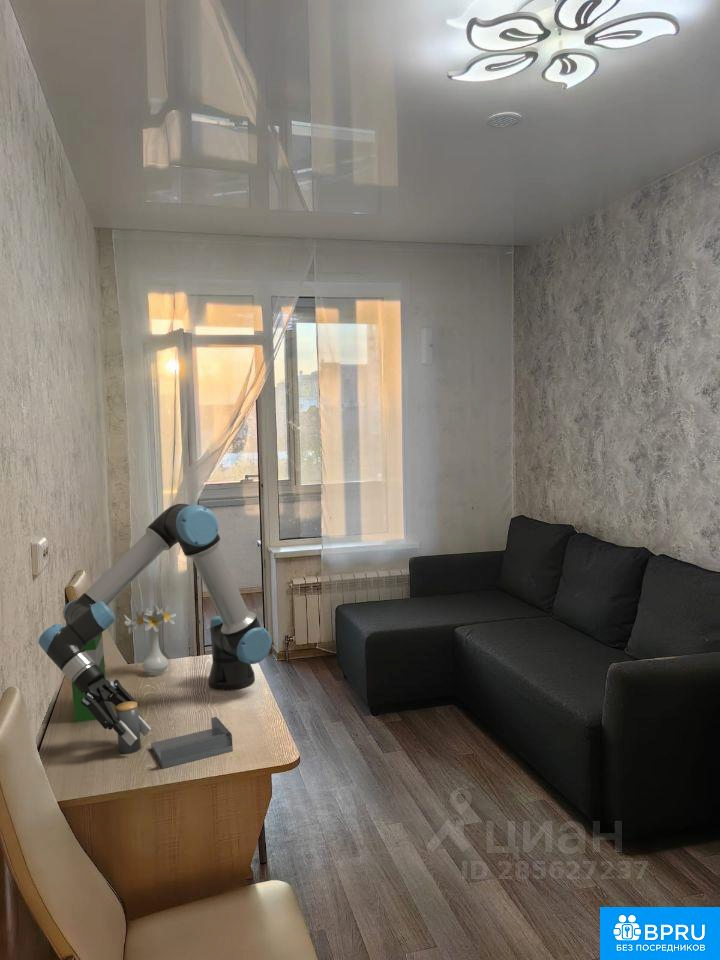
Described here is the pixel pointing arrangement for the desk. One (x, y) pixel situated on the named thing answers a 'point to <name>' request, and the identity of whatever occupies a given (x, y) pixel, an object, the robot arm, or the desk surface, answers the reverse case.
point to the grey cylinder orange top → (129, 725)
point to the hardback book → (80, 710)
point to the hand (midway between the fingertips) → (140, 737)
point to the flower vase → (153, 637)
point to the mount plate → (194, 745)
